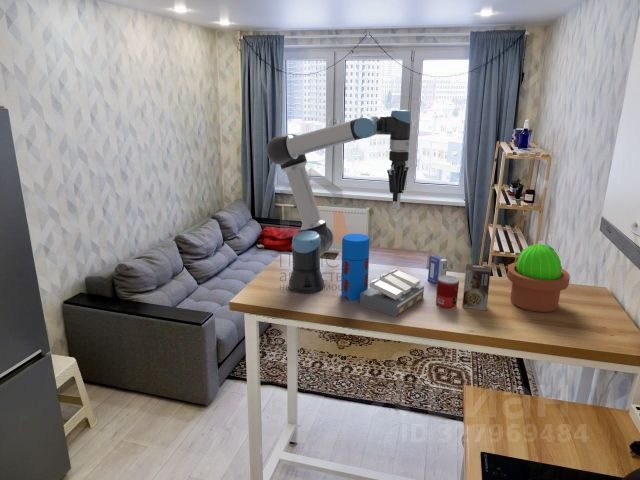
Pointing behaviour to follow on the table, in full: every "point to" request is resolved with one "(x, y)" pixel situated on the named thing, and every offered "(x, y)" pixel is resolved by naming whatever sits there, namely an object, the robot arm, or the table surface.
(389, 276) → the rocker
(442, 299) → the canned food
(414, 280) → the rocker
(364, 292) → the switch unit
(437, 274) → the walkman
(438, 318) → the table surface
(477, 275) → the coffee box
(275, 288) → the table surface
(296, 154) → the robot arm
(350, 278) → the thermos
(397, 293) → the rocker
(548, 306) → the potted cactus
